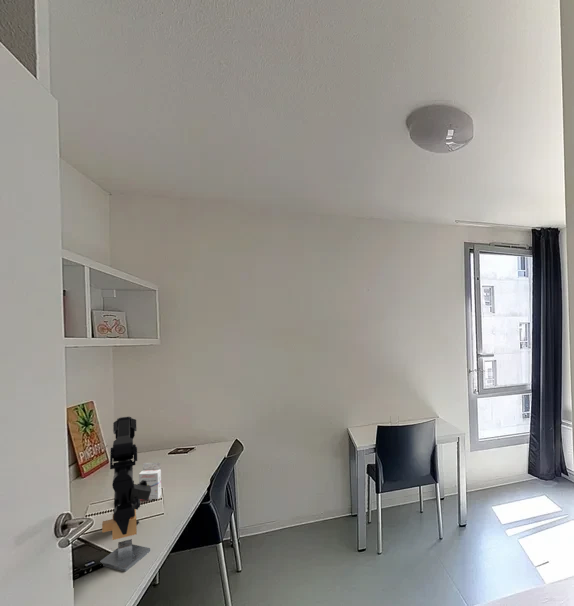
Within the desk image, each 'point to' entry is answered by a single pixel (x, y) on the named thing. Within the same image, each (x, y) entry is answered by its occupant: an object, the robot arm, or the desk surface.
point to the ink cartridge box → (152, 479)
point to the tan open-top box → (116, 532)
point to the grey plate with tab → (125, 556)
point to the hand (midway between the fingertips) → (124, 528)
